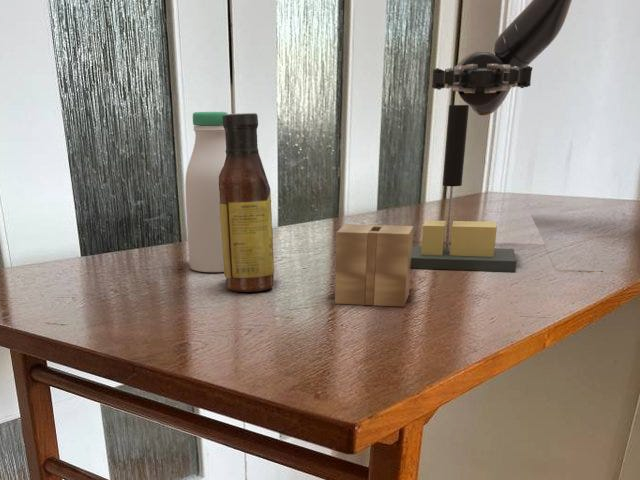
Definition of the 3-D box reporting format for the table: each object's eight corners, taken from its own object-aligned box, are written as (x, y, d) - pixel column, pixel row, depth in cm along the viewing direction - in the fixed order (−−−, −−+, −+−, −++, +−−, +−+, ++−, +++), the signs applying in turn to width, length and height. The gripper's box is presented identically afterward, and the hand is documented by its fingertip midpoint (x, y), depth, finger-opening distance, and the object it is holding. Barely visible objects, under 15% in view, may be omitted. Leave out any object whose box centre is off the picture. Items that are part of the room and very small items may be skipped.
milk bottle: (242, 273, 103) (237, 111, 95) (186, 273, 104) (176, 112, 95) (245, 263, 110) (241, 111, 101) (193, 263, 110) (184, 111, 102)
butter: (512, 259, 111) (517, 220, 109) (515, 272, 103) (520, 230, 100) (403, 255, 115) (405, 217, 112) (397, 268, 106) (399, 227, 104)
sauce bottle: (284, 288, 95) (283, 112, 86) (249, 296, 91) (244, 113, 82) (247, 281, 99) (243, 112, 90) (212, 289, 95) (203, 113, 86)
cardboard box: (408, 295, 91) (413, 225, 87) (404, 307, 85) (409, 233, 82) (342, 292, 92) (344, 224, 89) (334, 303, 87) (336, 231, 83)
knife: (455, 251, 109) (469, 104, 101) (455, 254, 107) (468, 104, 99) (437, 250, 110) (449, 105, 101) (436, 253, 108) (448, 105, 99)
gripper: (437, 55, 121) (432, 47, 107) (529, 52, 118) (537, 44, 104) (434, 107, 124) (428, 106, 110) (523, 105, 122) (530, 104, 107)
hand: (481, 76), depth 107 cm, fingers open, 8 cm apart
